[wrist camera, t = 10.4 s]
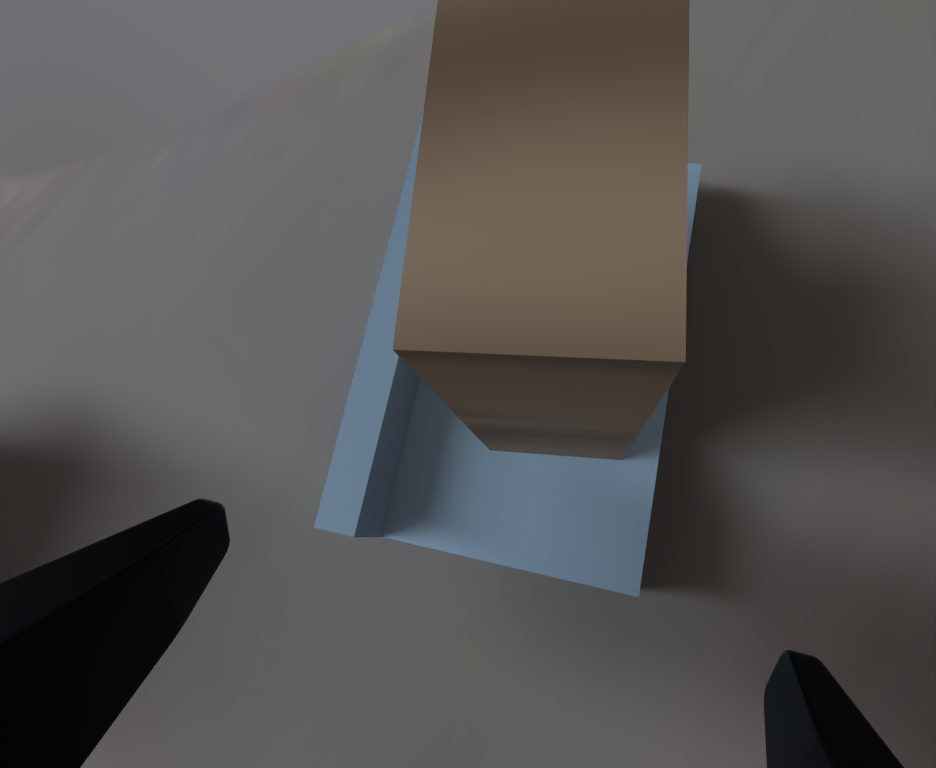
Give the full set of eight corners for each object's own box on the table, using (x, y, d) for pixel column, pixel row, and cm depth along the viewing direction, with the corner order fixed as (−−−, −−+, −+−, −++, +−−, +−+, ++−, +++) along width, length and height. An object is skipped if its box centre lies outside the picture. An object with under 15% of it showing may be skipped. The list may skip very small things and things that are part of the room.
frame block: (622, 460, 18) (689, 362, 8) (488, 450, 18) (389, 349, 8) (630, 247, 19) (692, -63, 9) (506, 246, 20) (440, -42, 10)
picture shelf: (630, 589, 19) (649, 607, 14) (372, 529, 21) (313, 527, 16) (687, 204, 22) (719, 112, 17) (456, 181, 24) (427, 94, 19)
